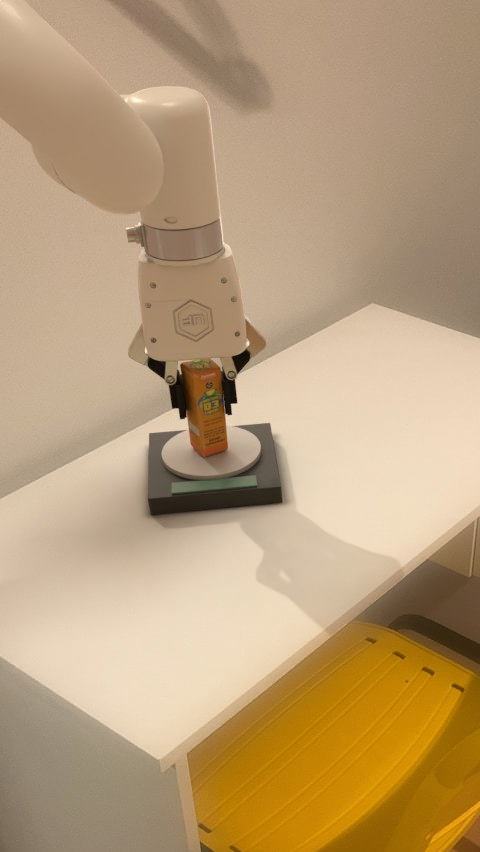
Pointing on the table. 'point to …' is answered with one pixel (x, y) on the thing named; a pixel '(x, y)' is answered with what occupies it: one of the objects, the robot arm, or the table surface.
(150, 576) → the table surface
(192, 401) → the supplement box
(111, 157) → the robot arm
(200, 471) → the scale
